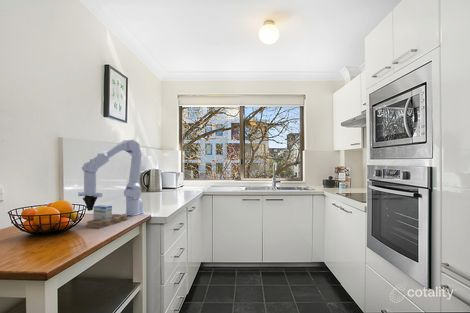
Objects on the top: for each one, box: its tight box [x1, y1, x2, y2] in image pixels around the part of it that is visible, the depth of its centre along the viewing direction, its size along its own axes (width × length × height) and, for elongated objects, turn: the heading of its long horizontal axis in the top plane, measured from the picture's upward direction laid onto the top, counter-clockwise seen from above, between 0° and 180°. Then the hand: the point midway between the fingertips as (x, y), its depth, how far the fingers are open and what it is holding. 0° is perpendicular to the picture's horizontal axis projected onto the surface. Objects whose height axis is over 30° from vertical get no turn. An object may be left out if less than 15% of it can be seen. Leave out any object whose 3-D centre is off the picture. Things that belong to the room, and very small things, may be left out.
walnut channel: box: [86, 213, 128, 229], centre depth 139 cm, size 18×8×2 cm, turn 161°
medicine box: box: [92, 204, 113, 220], centre depth 140 cm, size 8×4×9 cm, turn 76°
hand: (90, 210), depth 143 cm, fingers closed
